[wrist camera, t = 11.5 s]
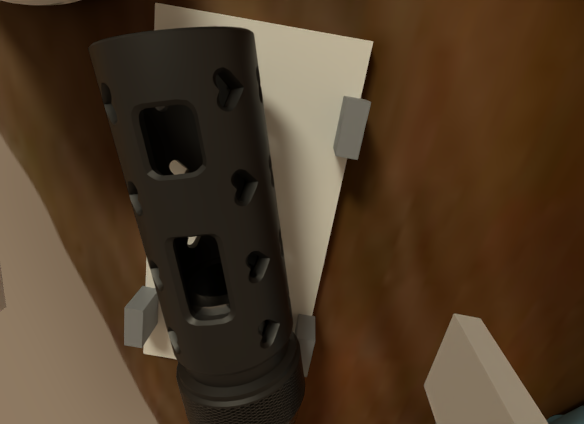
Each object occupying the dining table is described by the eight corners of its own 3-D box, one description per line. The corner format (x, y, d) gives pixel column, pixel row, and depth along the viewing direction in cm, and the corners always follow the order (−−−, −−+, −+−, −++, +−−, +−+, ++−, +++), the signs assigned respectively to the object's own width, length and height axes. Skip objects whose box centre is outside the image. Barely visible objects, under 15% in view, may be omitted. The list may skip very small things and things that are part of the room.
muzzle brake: (267, 38, 26) (244, 16, 16) (307, 358, 35) (308, 465, 26) (136, 55, 26) (37, 44, 17) (210, 364, 36) (175, 471, 26)
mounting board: (159, 5, 28) (127, -10, 23) (374, 44, 28) (386, 37, 23) (146, 343, 39) (123, 379, 34) (301, 370, 39) (299, 410, 34)
